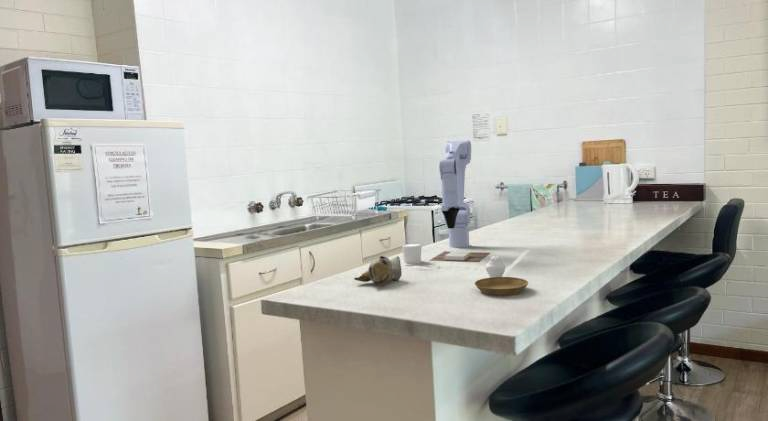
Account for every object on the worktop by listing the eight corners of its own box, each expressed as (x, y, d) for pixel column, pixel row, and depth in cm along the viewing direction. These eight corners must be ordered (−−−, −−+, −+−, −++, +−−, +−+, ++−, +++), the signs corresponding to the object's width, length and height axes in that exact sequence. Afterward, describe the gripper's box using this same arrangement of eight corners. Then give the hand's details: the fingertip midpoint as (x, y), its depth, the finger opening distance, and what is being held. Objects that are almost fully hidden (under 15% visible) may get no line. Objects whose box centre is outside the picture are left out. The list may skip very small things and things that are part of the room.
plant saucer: (475, 298, 161) (475, 289, 160) (474, 285, 175) (474, 277, 175) (531, 297, 159) (531, 288, 158) (525, 284, 173) (525, 276, 173)
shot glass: (422, 262, 212) (421, 243, 212) (422, 266, 206) (421, 246, 205) (403, 263, 213) (402, 243, 212) (402, 266, 206) (401, 247, 206)
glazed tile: (452, 251, 217) (444, 255, 209) (470, 251, 214) (463, 256, 206) (452, 255, 217) (444, 260, 209) (470, 256, 214) (464, 261, 206)
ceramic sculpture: (409, 252, 183) (373, 263, 174) (412, 280, 185) (376, 292, 175) (386, 249, 191) (350, 260, 182) (389, 276, 193) (353, 287, 183)
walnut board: (444, 254, 226) (444, 251, 226) (491, 255, 219) (491, 252, 219) (428, 263, 210) (428, 260, 210) (478, 265, 203) (478, 262, 203)
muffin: (506, 280, 179) (505, 257, 178) (485, 280, 180) (484, 257, 179) (506, 275, 185) (505, 253, 184) (486, 275, 186) (485, 253, 185)
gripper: (445, 190, 228) (446, 225, 229) (433, 193, 215) (434, 230, 216) (463, 190, 225) (464, 225, 226) (452, 193, 212) (453, 231, 213)
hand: (451, 228), depth 221 cm, fingers closed
